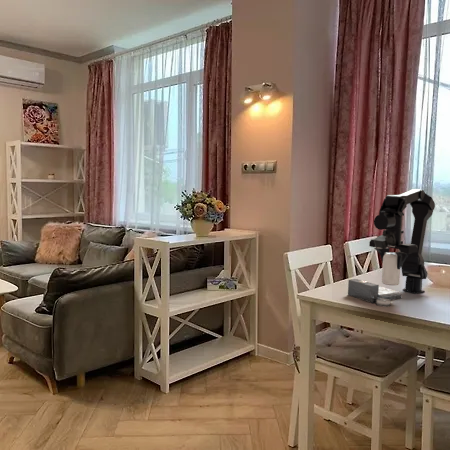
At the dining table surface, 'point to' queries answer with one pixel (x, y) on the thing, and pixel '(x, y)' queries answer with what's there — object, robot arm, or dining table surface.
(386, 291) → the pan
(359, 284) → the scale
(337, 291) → the dining table surface
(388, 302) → the spacer
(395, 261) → the can
